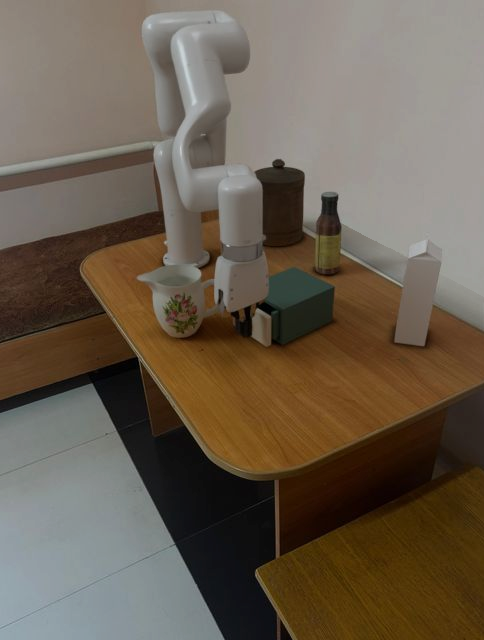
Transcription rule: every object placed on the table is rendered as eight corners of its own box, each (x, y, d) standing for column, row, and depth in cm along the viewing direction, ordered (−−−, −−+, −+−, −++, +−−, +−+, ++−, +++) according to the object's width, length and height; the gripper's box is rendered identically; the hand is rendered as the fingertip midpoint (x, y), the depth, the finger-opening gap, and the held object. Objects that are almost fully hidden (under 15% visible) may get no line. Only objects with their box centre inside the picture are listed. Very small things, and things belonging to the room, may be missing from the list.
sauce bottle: (344, 271, 137) (351, 194, 126) (325, 278, 134) (331, 200, 123) (326, 262, 142) (331, 188, 130) (308, 269, 139) (312, 193, 127)
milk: (393, 342, 110) (409, 242, 98) (395, 327, 115) (411, 229, 102) (425, 347, 108) (444, 245, 96) (425, 331, 113) (444, 232, 100)
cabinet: (282, 345, 111) (283, 309, 106) (244, 320, 119) (243, 286, 114) (332, 321, 118) (335, 286, 113) (293, 299, 126) (294, 266, 121)
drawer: (262, 349, 108) (262, 320, 104) (228, 326, 116) (227, 298, 112) (314, 324, 115) (316, 296, 111) (279, 304, 123) (280, 277, 119)
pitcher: (232, 335, 114) (229, 277, 107) (147, 348, 111) (139, 290, 104) (221, 310, 123) (218, 255, 115) (142, 322, 120) (134, 266, 112)
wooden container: (312, 233, 158) (316, 156, 145) (284, 251, 148) (285, 171, 136) (270, 223, 166) (270, 149, 153) (241, 239, 156) (239, 162, 144)
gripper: (260, 231, 102) (261, 314, 112) (195, 253, 95) (202, 339, 105) (287, 243, 97) (285, 329, 107) (220, 267, 90) (224, 356, 100)
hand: (244, 334), depth 106 cm, fingers closed
